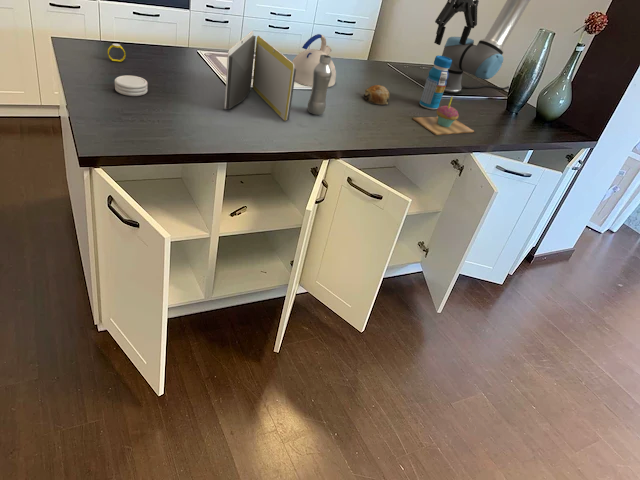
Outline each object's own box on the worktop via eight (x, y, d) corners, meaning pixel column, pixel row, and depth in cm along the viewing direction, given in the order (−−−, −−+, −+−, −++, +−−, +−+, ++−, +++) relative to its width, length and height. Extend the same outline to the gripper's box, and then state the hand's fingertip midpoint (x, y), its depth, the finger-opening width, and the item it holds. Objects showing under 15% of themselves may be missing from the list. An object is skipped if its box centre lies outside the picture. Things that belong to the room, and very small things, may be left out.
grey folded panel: (296, 121, 161) (305, 63, 149) (235, 124, 150) (240, 61, 139) (255, 83, 184) (260, 30, 172) (200, 83, 173) (202, 27, 162)
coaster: (152, 89, 161) (152, 79, 159) (140, 99, 152) (139, 88, 150) (123, 83, 160) (122, 72, 158) (109, 92, 152) (108, 81, 150)
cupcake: (450, 131, 179) (461, 100, 172) (429, 123, 182) (439, 92, 175) (457, 125, 186) (468, 95, 179) (437, 117, 188) (447, 88, 182)
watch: (108, 62, 174) (107, 45, 170) (107, 59, 176) (106, 42, 172) (126, 62, 176) (125, 46, 173) (125, 60, 178) (124, 43, 175)
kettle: (344, 82, 205) (353, 39, 195) (318, 91, 190) (327, 44, 179) (305, 67, 212) (312, 25, 202) (278, 75, 197) (284, 29, 186)
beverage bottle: (417, 106, 198) (432, 57, 186) (420, 100, 204) (435, 53, 193) (436, 112, 196) (453, 63, 185) (439, 106, 203) (455, 58, 191)
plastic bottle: (326, 112, 173) (337, 56, 161) (320, 118, 167) (331, 61, 156) (310, 107, 174) (320, 51, 162) (303, 113, 168) (313, 55, 157)
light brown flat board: (449, 117, 194) (450, 116, 193) (473, 132, 185) (474, 130, 184) (412, 119, 184) (412, 117, 184) (435, 135, 175) (436, 133, 174)
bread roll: (379, 114, 191) (393, 99, 187) (360, 98, 189) (372, 82, 185) (382, 107, 199) (394, 92, 195) (363, 91, 197) (375, 76, 193)
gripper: (484, -17, 182) (465, 41, 194) (437, -22, 169) (420, 40, 182) (499, -12, 177) (478, 47, 189) (451, -17, 164) (432, 47, 177)
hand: (449, 44), depth 186 cm, fingers open, 13 cm apart
